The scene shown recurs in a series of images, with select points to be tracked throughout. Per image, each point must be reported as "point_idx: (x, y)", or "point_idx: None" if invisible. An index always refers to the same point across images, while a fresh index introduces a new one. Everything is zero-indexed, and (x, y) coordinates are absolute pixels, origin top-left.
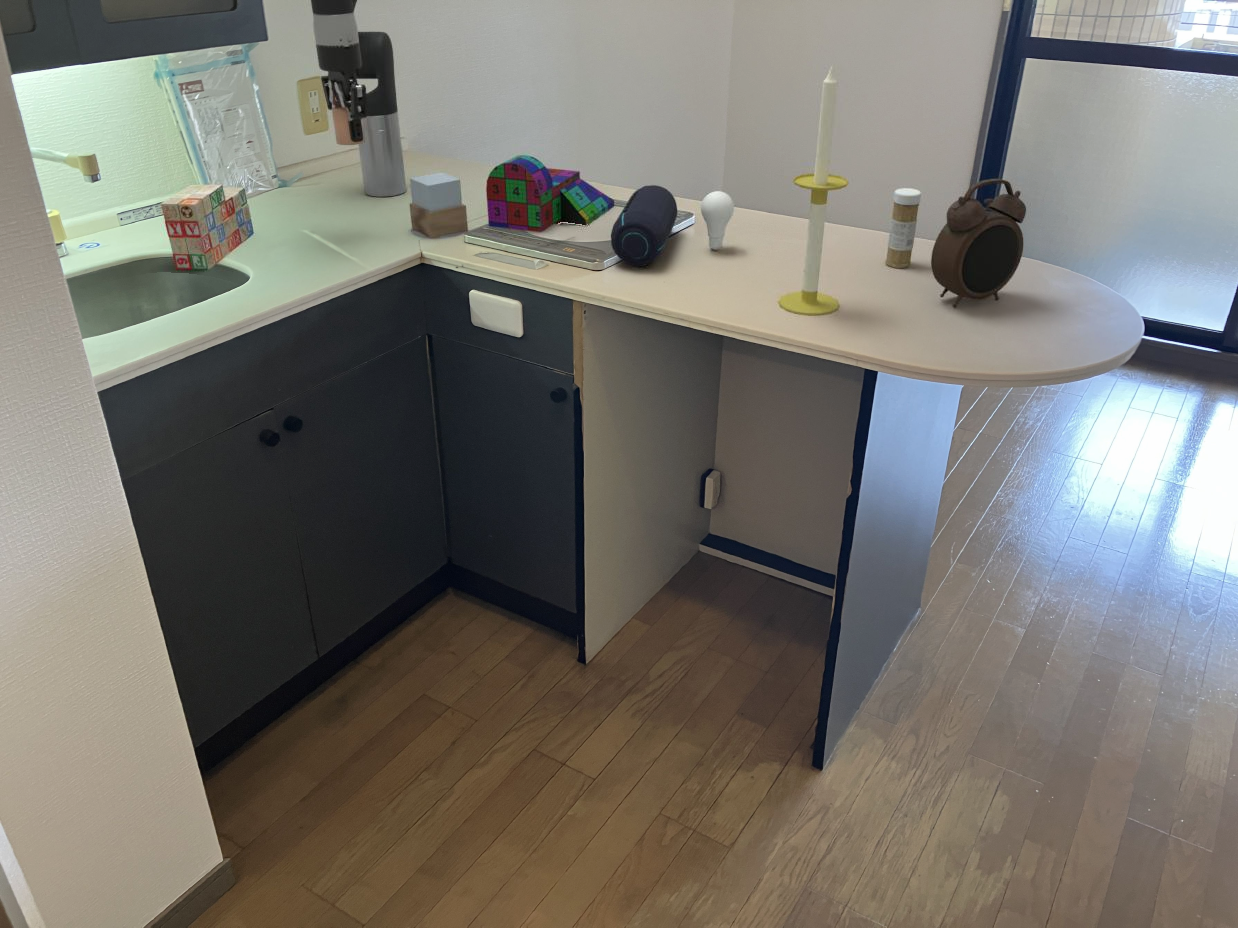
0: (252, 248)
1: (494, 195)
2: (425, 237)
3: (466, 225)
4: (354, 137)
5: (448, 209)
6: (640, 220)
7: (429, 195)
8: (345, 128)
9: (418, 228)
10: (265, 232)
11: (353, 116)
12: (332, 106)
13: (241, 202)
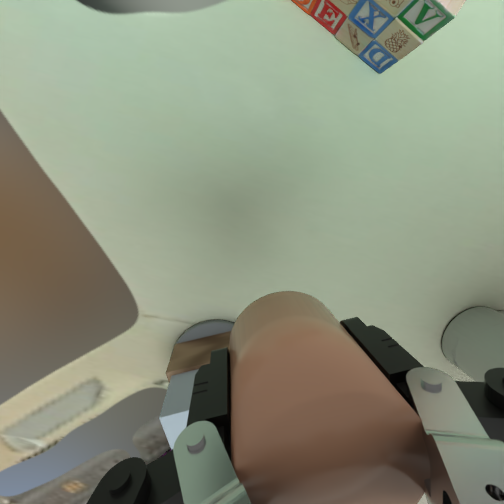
0: (292, 49)
1: None
2: (184, 336)
3: None
4: (208, 369)
5: None
6: None
7: (164, 401)
8: (236, 367)
9: (217, 337)
10: (374, 97)
11: (113, 483)
12: (464, 411)
13: (410, 15)
